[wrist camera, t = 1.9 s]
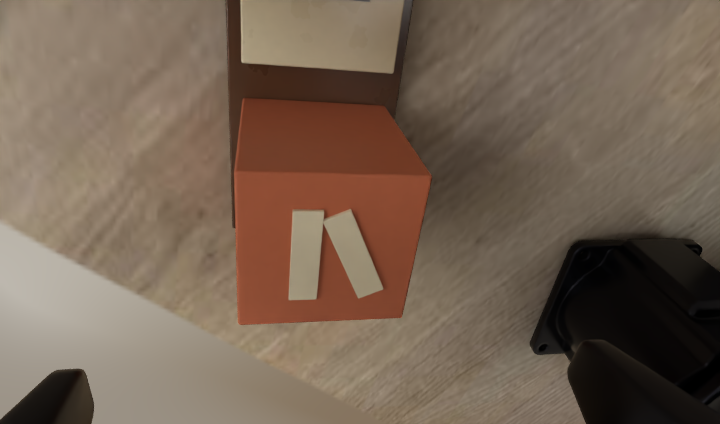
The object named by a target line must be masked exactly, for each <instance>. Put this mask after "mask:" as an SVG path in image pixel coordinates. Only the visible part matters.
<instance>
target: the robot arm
mask: <svg viewBox="0 0 720 424" xmlns="http://www.w3.org/2000/svg"><path fill="white" fill-rule="evenodd" d="M701 252H702V247H701V246H700V245H699V244H697V243H696V242H695V241H693V240H677V239H629V240H592V241H578V242H576V243H574V244H573V245H572V246H571V247H570V249H569V251H568V253H567V255H566V258H565V260H564V262H563V265H562V267H561V270H560V272H559V274H558V277H557V279H556V281H555V284H554V286H553V289H552V291H551V293H550V296H549V298H548V300H547V303H546V305H545V308H544V310H543V312H542V315H541V317H540V319H539V322H538V324H537V327H536V329H535V331H534V334H533V336H532V338H531V341H530V347H531V348H532V350H533V351H534V353H535V354H537V355H545V354H561V353H565V355H566V356H567V358H568V359H569V360H570V364H569V366H568V371H567V373H568V379H569V382H570V385H571V387H572V390H573V392H574V395H575V397H576V400H577V402H578V405H579V407H580V410H581V412H582V415H583V417H584V420H585V422H586V424H720V272H719V271H718V270H717V269H715V268H714V267H713V266H711V265H710V264H709V263H707V262H706V261H705V260H704V259H702V258H701V257H700V255H701ZM93 412H94V402H93V398H92V394H91V391H90V387H89V383H88V379H87V376H86V373H85V372H84V370H82V369H65V370H56V371H54V372H52V373H51V374H50V375H48V376H47V377H46V378H45V379H44V380H43V381H42V382H41V383H39V384H38V385H37V386H36V387H35V388H34V389H33V390H32V391H31V392H30V393H29V394H28V395H27V396H25V397H24V398H23V399H22V400H21V401H20V402H19V403H18V404H17V405H16V406H15V407H14V408H13V409H11V411H9V412H8V413H7V414H6V415H5V416H4V417H3V418H2V419H1V420H0V424H91V423H92V418H93Z"/></svg>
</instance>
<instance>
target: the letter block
mask: <svg viewBox="0 0 720 424" xmlns="http://www.w3.org/2000/svg"><path fill="white" fill-rule="evenodd" d="M431 181H432V175H431V174H430V172H429V171H428V169H427V168H426V167H425V165H424V164H423V162H422V161H421V159H420V158H419V156H418V155H417V153H416V152H415V150H414V149H413V147H412V146H411V144H410V143H409V141H408V140H407V138H406V137H405V136H404V134H403V133H402V131H401V130H400V128H399V127H398V125H397V124H396V122H395V121H394V119H393V118H392V116H391V115H390V113H389V112H388V110H387V109H386V107H385V106H380V105H363V104H345V103H327V102H310V101H292V100H274V99H257V98H243V100H242V108H241V117H240V126H239V134H238V143H237V152H236V160H235V169H234V191H235V229H236V267H237V305H238V323H239V324H240V325H248V324H271V323H294V322H317V321H340V320H363V319H386V318H401V317H402V315H403V310H404V306H405V301H406V296H407V292H408V287H409V282H410V278H411V273H412V268H413V264H414V259H415V255H416V250H417V245H418V241H419V236H420V231H421V227H422V222H423V218H424V213H425V208H426V204H427V199H428V194H429V190H430V185H431Z"/></svg>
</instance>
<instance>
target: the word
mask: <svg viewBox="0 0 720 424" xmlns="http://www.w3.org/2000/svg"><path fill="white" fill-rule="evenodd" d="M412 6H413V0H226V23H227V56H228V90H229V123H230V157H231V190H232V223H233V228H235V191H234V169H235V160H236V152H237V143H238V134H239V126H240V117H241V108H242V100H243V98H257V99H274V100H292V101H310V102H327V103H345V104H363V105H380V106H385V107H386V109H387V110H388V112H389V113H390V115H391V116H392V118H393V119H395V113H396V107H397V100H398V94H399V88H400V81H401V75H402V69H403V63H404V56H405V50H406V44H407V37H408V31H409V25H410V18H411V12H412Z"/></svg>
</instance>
